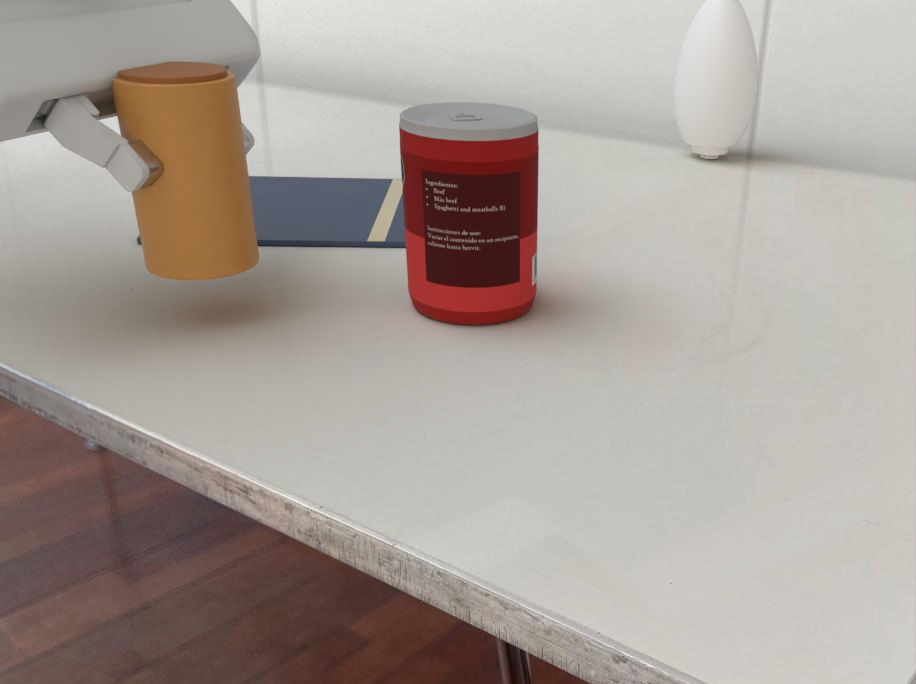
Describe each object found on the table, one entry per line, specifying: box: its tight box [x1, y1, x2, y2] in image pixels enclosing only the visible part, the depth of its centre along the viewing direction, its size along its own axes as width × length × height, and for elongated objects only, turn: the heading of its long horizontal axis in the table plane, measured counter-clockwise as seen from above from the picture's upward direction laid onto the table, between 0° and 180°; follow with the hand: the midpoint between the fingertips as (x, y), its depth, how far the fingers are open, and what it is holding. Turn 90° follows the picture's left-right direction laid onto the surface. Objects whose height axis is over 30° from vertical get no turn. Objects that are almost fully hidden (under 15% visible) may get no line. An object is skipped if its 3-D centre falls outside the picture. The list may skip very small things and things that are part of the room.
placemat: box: [136, 175, 406, 248], centre depth 76 cm, size 18×18×1 cm
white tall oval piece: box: [672, 0, 759, 160], centre depth 95 cm, size 8×8×18 cm
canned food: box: [398, 101, 540, 326], centre depth 58 cm, size 8×8×11 cm
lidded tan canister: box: [112, 62, 260, 281], centre depth 54 cm, size 6×6×10 cm
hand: (198, 166), depth 53 cm, fingers closed on lidded tan canister, 6 cm apart
